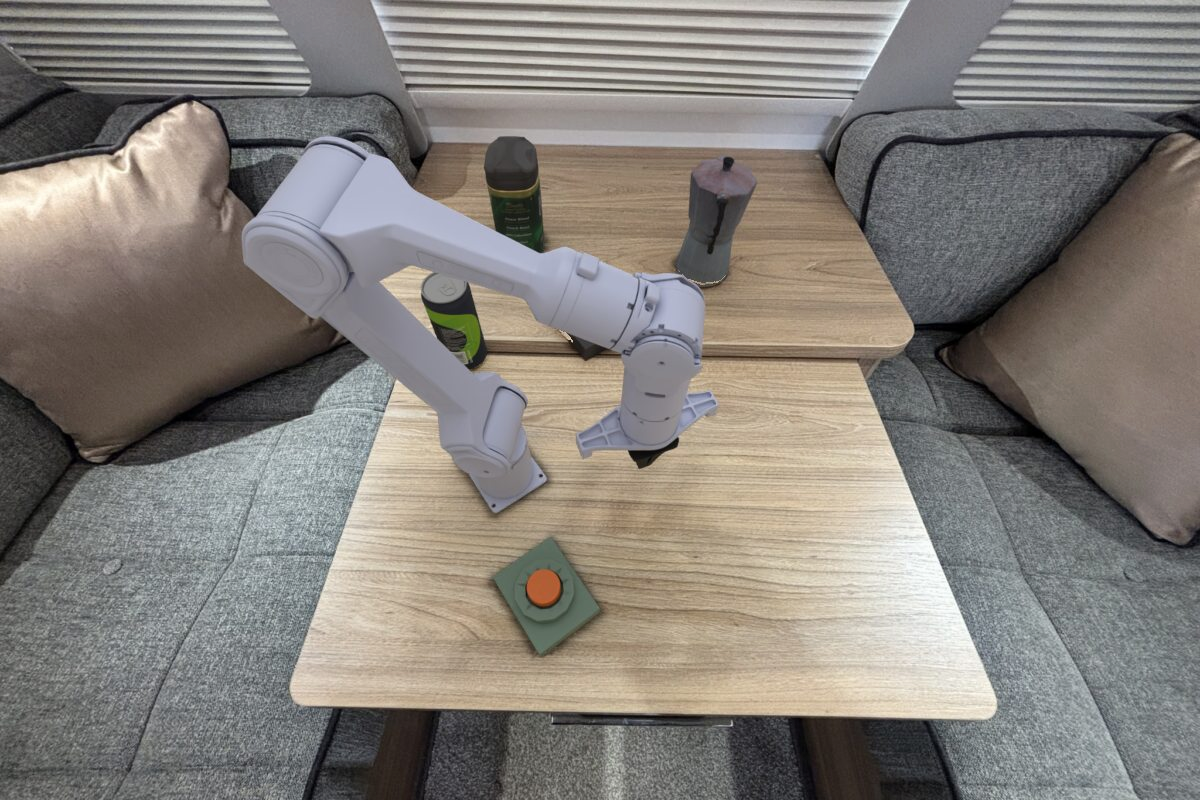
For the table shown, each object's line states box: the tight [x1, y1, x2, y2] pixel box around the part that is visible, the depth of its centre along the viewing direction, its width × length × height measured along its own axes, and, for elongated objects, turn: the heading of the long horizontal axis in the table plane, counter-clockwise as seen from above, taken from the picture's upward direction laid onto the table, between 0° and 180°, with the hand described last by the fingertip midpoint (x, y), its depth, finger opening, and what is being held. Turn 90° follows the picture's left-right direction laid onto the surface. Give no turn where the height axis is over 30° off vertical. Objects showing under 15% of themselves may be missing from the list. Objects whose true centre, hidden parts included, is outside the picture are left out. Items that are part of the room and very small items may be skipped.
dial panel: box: [566, 333, 609, 362], centre depth 82 cm, size 12×10×3 cm
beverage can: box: [420, 272, 488, 371], centre depth 73 cm, size 6×6×15 cm
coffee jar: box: [483, 135, 546, 253], centre depth 84 cm, size 10×8×19 cm
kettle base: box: [492, 536, 601, 658], centre depth 60 cm, size 10×8×4 cm
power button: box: [527, 569, 561, 607], centre depth 58 cm, size 4×4×2 cm
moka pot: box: [675, 154, 758, 288], centre depth 81 cm, size 10×15×20 cm, turn 174°
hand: (641, 459), depth 60 cm, fingers closed
